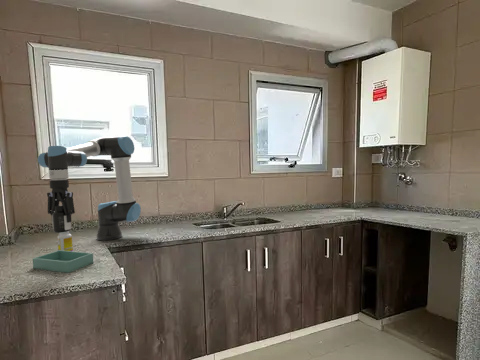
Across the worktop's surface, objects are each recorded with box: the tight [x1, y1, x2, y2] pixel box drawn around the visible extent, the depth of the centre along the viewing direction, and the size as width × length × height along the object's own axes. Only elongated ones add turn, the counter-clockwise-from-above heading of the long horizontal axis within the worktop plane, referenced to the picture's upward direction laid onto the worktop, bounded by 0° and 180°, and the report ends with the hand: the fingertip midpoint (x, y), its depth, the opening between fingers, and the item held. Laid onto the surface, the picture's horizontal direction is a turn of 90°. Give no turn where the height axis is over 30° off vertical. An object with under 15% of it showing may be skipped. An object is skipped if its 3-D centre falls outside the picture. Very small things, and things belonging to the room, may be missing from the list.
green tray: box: [32, 250, 94, 274], centre depth 138 cm, size 14×22×5 cm, turn 70°
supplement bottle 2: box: [57, 231, 74, 251], centre depth 158 cm, size 7×7×13 cm
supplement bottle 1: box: [51, 204, 71, 234], centre depth 137 cm, size 7×7×12 cm
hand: (62, 229), depth 138 cm, fingers closed on supplement bottle 1, 7 cm apart
